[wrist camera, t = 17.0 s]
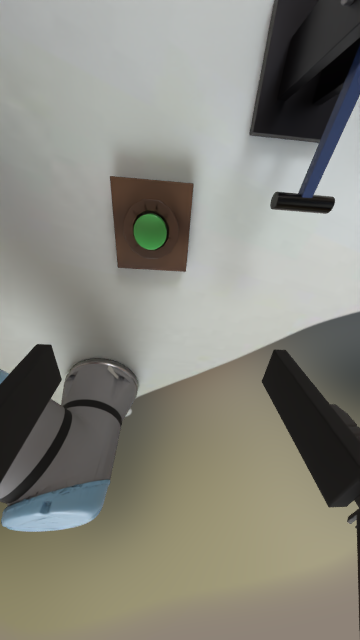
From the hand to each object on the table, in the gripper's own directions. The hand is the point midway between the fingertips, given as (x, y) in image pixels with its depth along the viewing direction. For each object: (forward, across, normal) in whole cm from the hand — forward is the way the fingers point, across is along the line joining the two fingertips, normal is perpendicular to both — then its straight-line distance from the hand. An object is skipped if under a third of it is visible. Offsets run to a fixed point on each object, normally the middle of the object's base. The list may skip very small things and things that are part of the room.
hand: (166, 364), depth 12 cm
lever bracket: (+22, -14, -22) cm, 34 cm away
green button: (+19, +2, -5) cm, 20 cm away
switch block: (+23, +2, -5) cm, 24 cm away
